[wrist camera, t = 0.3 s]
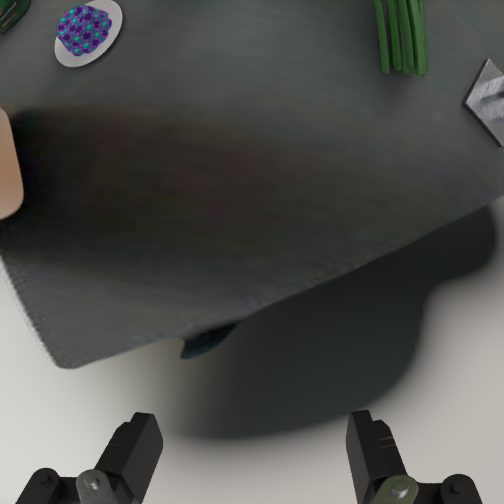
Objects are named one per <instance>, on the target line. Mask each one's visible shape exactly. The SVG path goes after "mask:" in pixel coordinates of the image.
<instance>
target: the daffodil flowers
mask: <svg viewBox="0 0 504 504" xmlns="http://www.w3.org/2000/svg"><path fill="white" fill-rule="evenodd" d="M373 4H374V10H375V16H376V23H377V30H378V38H379V48H380V60H381V73H390V67H389V54H388V44H387V34H386V26H385V19H384V13H383V7H382V1H381V0H373ZM386 4H387V12H388V20H389V30H390V41H391V54H392V66H394V70H401V71H402V73H406V74H409V73H412V74H416V75H420V76H424V75H426V71H428V62H427V48H426V38H425V29H424V4H423V0H386ZM395 7H396V8H395ZM396 11H397V14H396ZM397 17H398V20H397ZM398 23H399V28H398ZM399 29H400V35H401V45H400V36H399ZM401 48H402V58H401Z"/></svg>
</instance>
